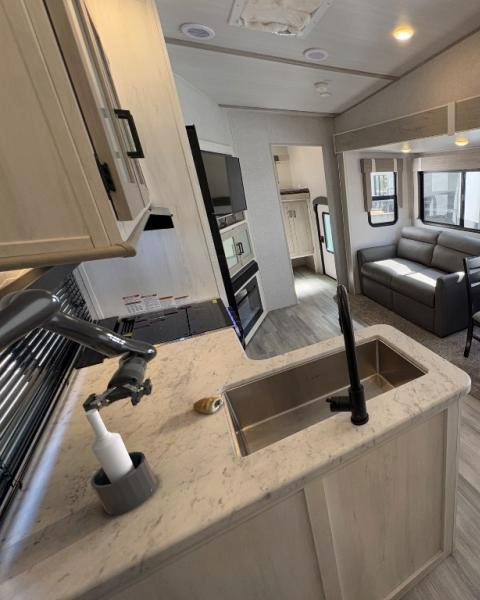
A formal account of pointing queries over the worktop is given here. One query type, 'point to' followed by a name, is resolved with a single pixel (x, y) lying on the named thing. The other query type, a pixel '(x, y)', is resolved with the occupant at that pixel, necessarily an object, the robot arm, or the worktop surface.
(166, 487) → the worktop surface
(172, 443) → the worktop surface
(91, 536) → the worktop surface
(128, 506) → the bowl
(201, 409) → the pastry
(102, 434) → the bottle
